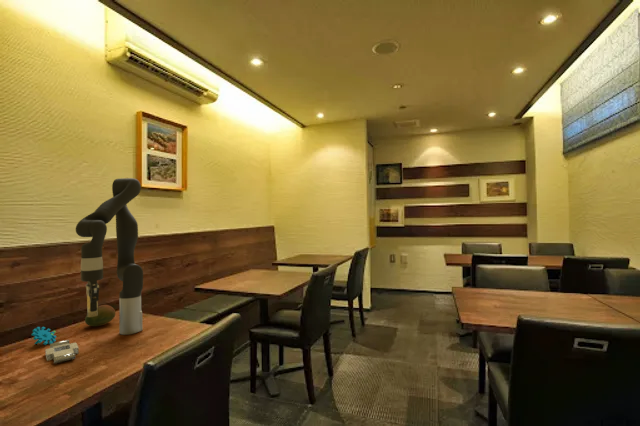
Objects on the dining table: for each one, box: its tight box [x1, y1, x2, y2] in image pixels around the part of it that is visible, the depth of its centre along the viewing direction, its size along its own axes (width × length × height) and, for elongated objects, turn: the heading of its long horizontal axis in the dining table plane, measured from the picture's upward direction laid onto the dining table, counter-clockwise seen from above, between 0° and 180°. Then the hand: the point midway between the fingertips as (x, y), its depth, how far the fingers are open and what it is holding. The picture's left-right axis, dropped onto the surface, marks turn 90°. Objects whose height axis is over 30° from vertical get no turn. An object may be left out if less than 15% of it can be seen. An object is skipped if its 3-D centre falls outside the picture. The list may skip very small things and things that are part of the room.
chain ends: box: [45, 339, 80, 365], centre depth 132 cm, size 10×22×3 cm, turn 43°
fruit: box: [84, 304, 116, 327], centre depth 167 cm, size 12×13×10 cm
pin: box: [86, 294, 99, 317], centre depth 132 cm, size 4×4×9 cm
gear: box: [31, 326, 57, 346], centre depth 143 cm, size 11×6×10 cm
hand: (92, 309), depth 132 cm, fingers closed on pin, 3 cm apart
